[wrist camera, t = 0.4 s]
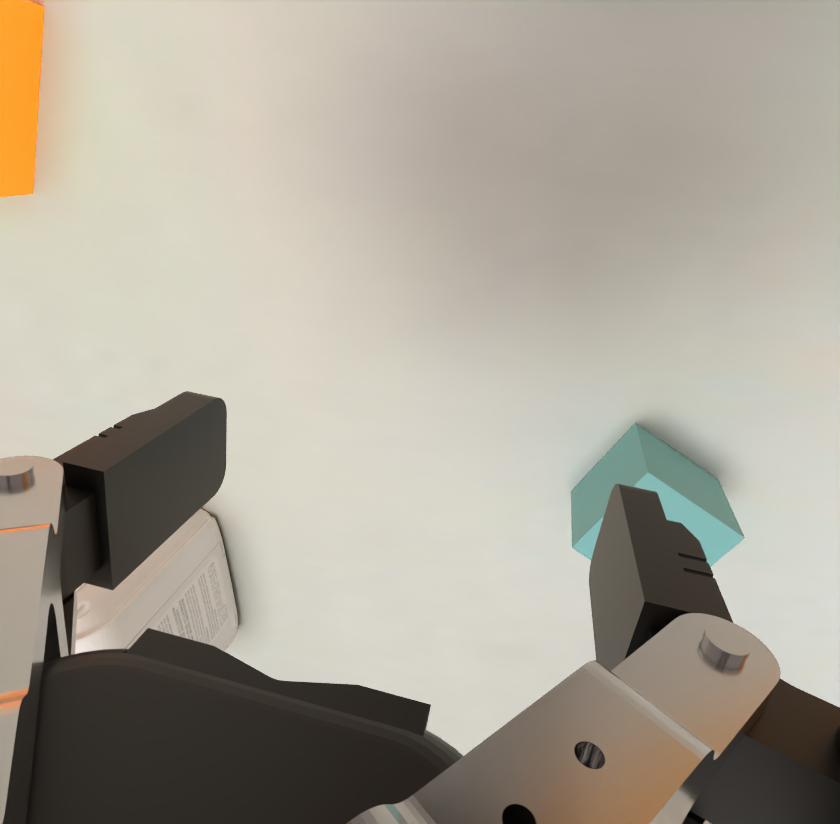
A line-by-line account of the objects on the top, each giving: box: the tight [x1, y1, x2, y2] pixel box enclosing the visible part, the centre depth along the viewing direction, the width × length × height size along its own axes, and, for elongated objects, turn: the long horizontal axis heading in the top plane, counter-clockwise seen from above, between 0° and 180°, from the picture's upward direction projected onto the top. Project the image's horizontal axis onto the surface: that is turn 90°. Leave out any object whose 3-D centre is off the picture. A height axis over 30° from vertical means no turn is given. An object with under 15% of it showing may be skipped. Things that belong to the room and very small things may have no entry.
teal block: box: [571, 423, 745, 567], centre depth 28 cm, size 5×5×5 cm
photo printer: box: [75, 509, 238, 654], centre depth 34 cm, size 10×4×12 cm, turn 3°
